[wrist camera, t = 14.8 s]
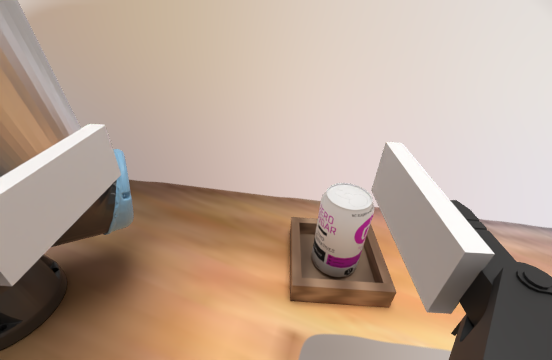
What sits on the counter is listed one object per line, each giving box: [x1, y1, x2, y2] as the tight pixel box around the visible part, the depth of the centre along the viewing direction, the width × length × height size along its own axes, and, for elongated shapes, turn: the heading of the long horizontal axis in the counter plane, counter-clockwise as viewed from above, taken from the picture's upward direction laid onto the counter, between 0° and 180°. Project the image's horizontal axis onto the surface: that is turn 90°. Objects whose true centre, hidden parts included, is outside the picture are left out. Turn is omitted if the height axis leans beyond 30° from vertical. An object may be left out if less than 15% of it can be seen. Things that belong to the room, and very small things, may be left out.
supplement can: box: [312, 183, 374, 277], centre depth 45 cm, size 8×8×15 cm
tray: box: [290, 217, 396, 307], centre depth 49 cm, size 16×16×4 cm
